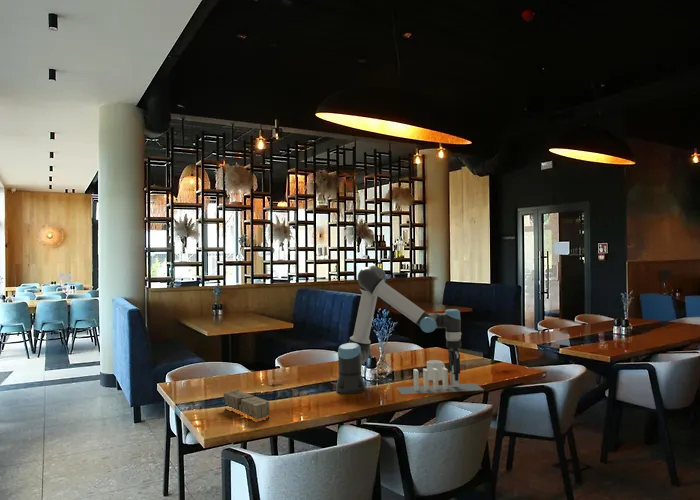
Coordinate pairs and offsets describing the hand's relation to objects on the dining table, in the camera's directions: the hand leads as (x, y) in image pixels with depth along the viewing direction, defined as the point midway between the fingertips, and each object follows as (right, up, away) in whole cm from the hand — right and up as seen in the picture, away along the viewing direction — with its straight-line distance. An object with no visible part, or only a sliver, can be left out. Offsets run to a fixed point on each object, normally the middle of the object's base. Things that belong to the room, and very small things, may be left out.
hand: (454, 385), depth 274 cm
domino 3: (-10, -2, -1) cm, 10 cm away
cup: (-6, -2, +21) cm, 21 cm away
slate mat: (-8, -2, -1) cm, 8 cm away
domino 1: (-20, -2, -2) cm, 20 cm away
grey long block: (-100, -5, -32) cm, 105 cm away
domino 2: (-15, -2, -1) cm, 15 cm away
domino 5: (0, 0, 0) cm, 0 cm away
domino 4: (-5, -1, 0) cm, 5 cm away
